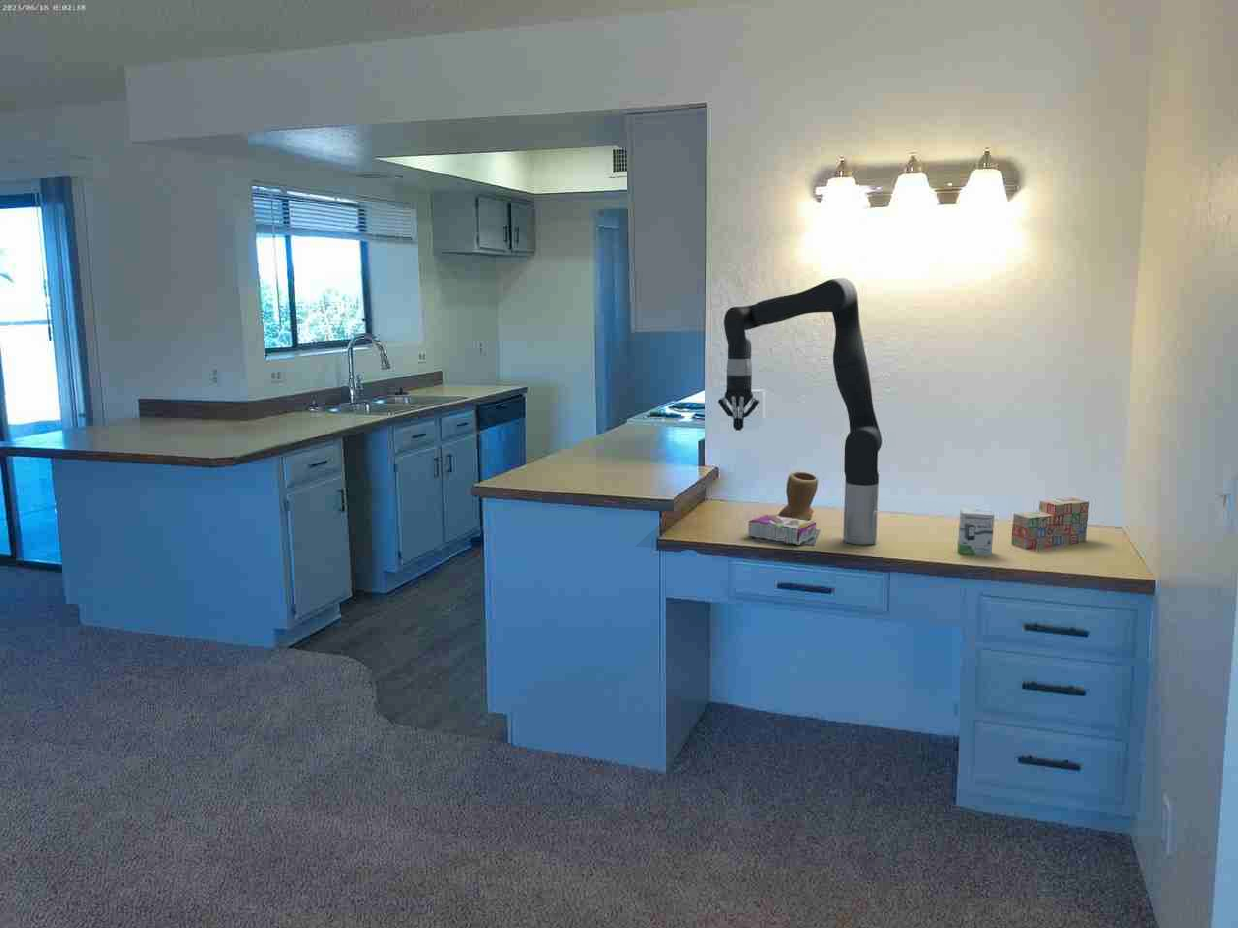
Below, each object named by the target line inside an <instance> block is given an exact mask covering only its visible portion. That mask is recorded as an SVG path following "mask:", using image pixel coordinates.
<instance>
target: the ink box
mask: <svg viewBox="0 0 1238 928" xmlns="http://www.w3.org/2000/svg"><path fill="white" fill-rule="evenodd" d="M994 527H995V513H994V511H993V510H988V509H987V510H986V509H974V508H973V509H972V508H962V509H960V514H959V526H958V539H957V553H958V554H959V555H964V556H965V555H967V556H968V555H970V556H980V557H981V556H982V557H992V553H993V540H994Z"/></svg>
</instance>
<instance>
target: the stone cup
mask: <svg viewBox="0 0 1238 928" xmlns="http://www.w3.org/2000/svg"><path fill="white" fill-rule="evenodd" d="M818 485H819V477H818V476H816V475H814V474H812V473H810V472H806V471H800V470H799V471H793V472H791V473H790V474H789V475H788V478H787V482H786V498H787V505H786V506H784V507H783V508H782V509H781V511H780V512H779V513H777V514H778V515H777V516H780V517H786V518H792V519H799V520H805V521H809V519H810V518H811V517H812V515H814V512H815V510H814V509H813V508H811V506H812V503H813V501H814V499H815V496H816V493H817V492H818Z"/></svg>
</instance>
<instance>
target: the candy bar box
mask: <svg viewBox="0 0 1238 928" xmlns="http://www.w3.org/2000/svg"><path fill="white" fill-rule="evenodd" d="M816 529H817V522H816V521H811V520H810V521H809V520H807V521H805V520H799V519H792V518H786V517H780V516H778V515H772V514H765V515H762V516H760V517H758V518H757V517H756V518H753V519H751V520H749V521H748V537H750V538H751V537H752V538H761V539H767V540H773V541H778V542H784V543H790V544H789V545H794V544H795V546H797V545H798V546H800V545H799V544H801V543H804V542H806V541H809V540H811V539H814V538H816Z"/></svg>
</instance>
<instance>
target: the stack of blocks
mask: <svg viewBox="0 0 1238 928" xmlns="http://www.w3.org/2000/svg"><path fill="white" fill-rule="evenodd" d="M1089 506H1090V501H1087V500H1084V499H1079V498H1075V497H1059V498H1052V499H1043V500H1042V499H1041V500H1039V503H1038V510H1034V511H1024V512H1015V513H1013V517H1012V525H1011V539H1010V540H1011V542H1010V544H1011V545H1012V546H1014V547H1018V548H1021V549H1024V550H1027V551H1028V550H1035V549H1036V550H1037V549H1038V550H1039V549H1043V548H1053V547H1061V546H1069V545H1070V546H1071V545H1078V544H1086V542H1087V529H1088V522H1089V508H1090V507H1089Z"/></svg>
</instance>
